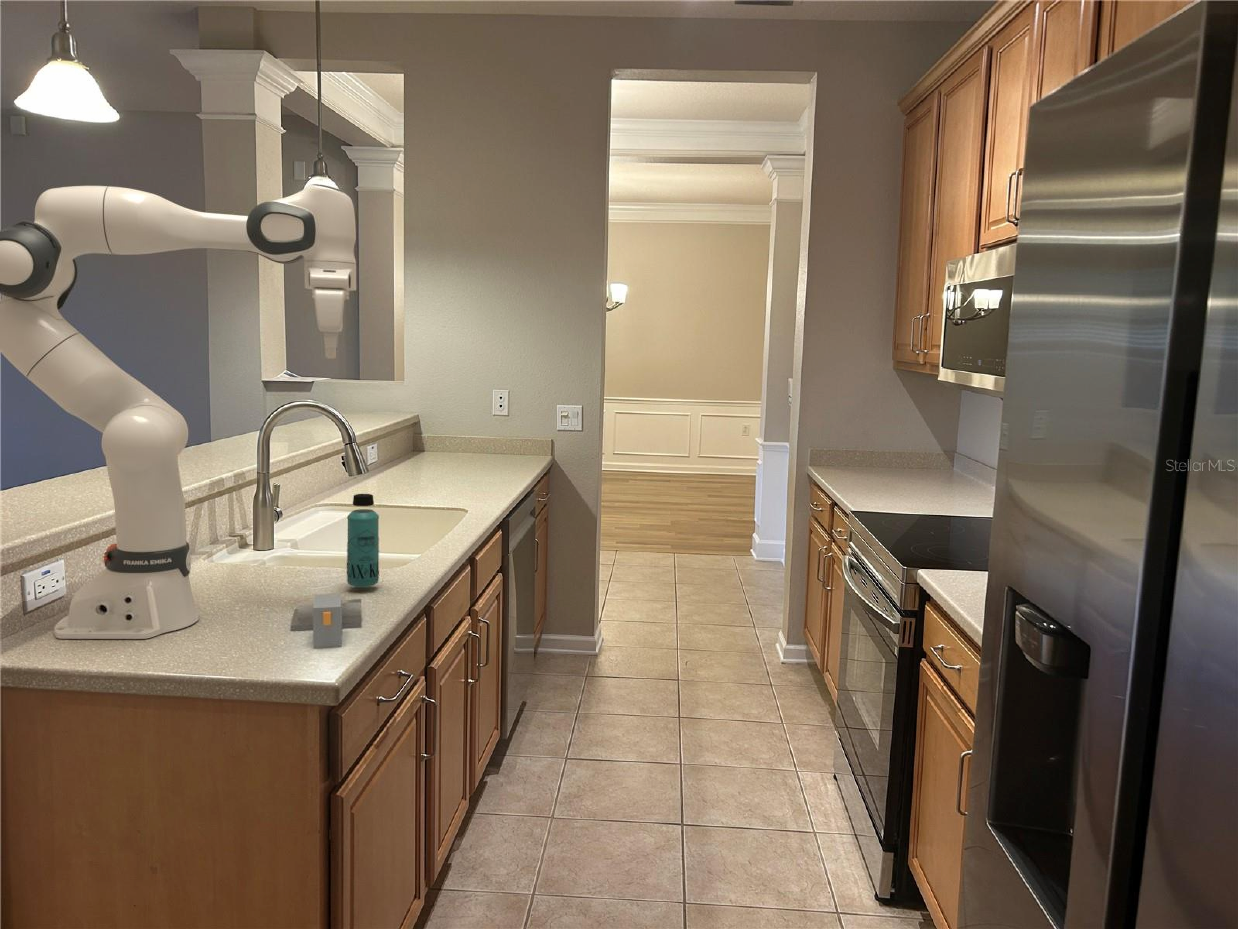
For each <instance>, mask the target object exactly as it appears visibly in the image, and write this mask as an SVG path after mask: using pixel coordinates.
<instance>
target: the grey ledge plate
mask: <svg viewBox="0 0 1238 929" xmlns="http://www.w3.org/2000/svg"><path fill="white" fill-rule="evenodd" d="M313 604H314V600H312V601H311V600H310V601H309V600H308V601H299V602H297V608H295V609H294V610H293V614H292V619H291V621H290V622H291V624H290V632H298V631H313ZM351 628H353V629H356V628H362V598H359V599H358V598H356V599H342V629H351Z"/></svg>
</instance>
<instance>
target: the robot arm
mask: <svg viewBox="0 0 1238 929" xmlns="http://www.w3.org/2000/svg"><path fill="white" fill-rule="evenodd" d="M355 214H356V213H355V206H354V203H353V200H352V199H351V197H350V196H349V195H348V194H347V193H346V192H345V191H343V190H341V189H339V188H336V187H333V186H329V185H324V184H318V183H313V184H312V183H311V184H309V185H307V186H306V187H305V188H303V189H302V190H299V191H298V192H296V193H293V194H292V195H289V196H285V197H282V198H279V199H274V200H269V201H264V202H261V203H259V204H258V205H256V206H255V207H253V209H251V210H250V212H249V214H248V215H238V214H237V215H236V214H226V213H213V212H203V211H198V210H194V209H190V208H187V207H184V206H182V205H179V204H177V203H174V202H173V201H170V200H168V199H166V198H164V197H163V196H160V195H157V194H155V193H151V192H147V191H144V190H139V189H134V188H128V187H121V186H110V185H107V186H106V185H105V186H104V185H74V186H61V187H54V188H49V189H47V190H45V191H44V192H42V193H40V195H39V197H38V199H37V200H36V204H35V207H34V221H30V220H21V221H18V222H16V223H14V224H13V225H11V226H8V227H6V228H3V229H2V230H0V295H1V298H0V353H1V354H2V356H4V358H6V360H8V362H9V363H10V364H12V365H13V367H15V368H16V370H18V372H20V373H21V374H22V375H23V376H24V377H25V378H26V379H28V380H29V381H30V382H31V383H32V384H34V386H36V387H37V388H38V389H40V391H42V392H43V393H45V395H47V396H48V398H50V399H51V400H52V401H54V402H55V403H56V404H57V405H58V406H59V407H60V408H62V409H63V410H64V411H65V412H67V413H68V414H70V415H71V416H75V417H76V418H78V419H80V420H82V421H84V422H85V423H87V424H88V425H89V426H91V427H93V428H94V429H95V430H97V431H99V432H100V433H102V437H101V450H102V453H103V455H104V457H105V464H106V469H107V475H108V479H109V484H110V488H111V492H112V498H113V503H114V518H115V520H114V521H115V538H116V543H113V544H110V545H109V546H108V547H107V548H106V552H104V554H103V555H104V556H102V558H103V559H102V561H103V563H104V567H105V569H103V570H102V571H101V572H99V573H98V574H97V575H95V576H94V577H92V578H91V579H90V580H89V581H87V582H86V583H85V584H84V585H82V586H81V587H80V588H79V589H78V590H76V592H75V593H74V594H73V596H72V598H71V602H70V605H69V608H68V609H69V610H68V615H66V616H64V617H63V618H61V619H60V620H59V621H58V622H57V623H56V624H55V626H54V627H53V628H54V629H53V636H54V637H55V638H57V639H63V640H64V639H66V640H67V639H68V640H69V639H72V640H73V639H79V640H81V639H82V640H87V639H89V640H90V639H91V640H94V639H95V640H96V639H98V640H99V639H101V640H106V639H107V640H114V639H115V640H124V639H125V640H145V639H150V638H154V637H156V636H159V635H161V634H166V633H170V632H173V631H176V630H182V629H184V628H186V627H189V626H192V625H193V624H195V623H197V622H198V621H199V619H200V616H199V613H198V609H197V607H196V604H195V601H194V595H193V592H192V588H191V587H192V586H191V581H190V579H191V578H190V574H191V569H192V566H191V565H192V562H191V560H192V559H191V558H192V557H191V549H190V542H188V541H187V522H186V521H187V520H186V519H187V518H186V513H187V512H186V498H185V496H184V492H183V487H182V481H181V476H180V469H179V455H180V454H181V453H182V451H183V450H184V449H185V448H186V446H187V444H188V440H189V426H188V424H187V422H186V420H185V418H184V416H183V414H181V413H180V412H179V411H178V410H176V409H175V408H174V407H172V405H170V404H169V403H167V401H165V400H164V399H162V397H160V396H159V395H158V394H156V393H155V392H154V391H153V390H151V389H149V388H148V387H147V385H145V384H143V383H141V381H139V380H138V379H136V378H134V377H133V376H132V375H130V374H129V373H128V372H126V371H125V370H123V369H122V368H120V366H119V365H117V364H116V362H115V363H114V362H113V361H112V360H111V359H110V358H109V357H108V356H107V355H106V354H105V353H104V352H103V351H101V350H100V349H99V347H96V346H95V344H93V343H92V341H90V340H88V339H87V337H85V335H83V334H82V333H81V332H80V331H78V329H76V328H75V327H74V326H73V325H71V324H70V323H69V322H68V321H67V320H66V319H65V318H64V317H63V315H62V314H61V313H60V312H59V310H60V309H62V308H63V306H64V304H65V302H66V300H67V299H68V297H69V295H70V293H71V292H72V291H73V289H74V287H75V284H76V283H77V282H78V281H77V280H78V277H79V266H78V263H77V260H76V258H78V257H80V256H82V255H89V254H104V255H105V254H106V255H122V256H125V255H127V256H128V255H131V256H132V255H133V256H135V255H148V254H157V253H164V252H171V251H172V252H173V251H178V250H179V251H180V250H189V249H211V250H223V251H225V250H226V251H227V250H228V251H241V252H248V253H249V252H250V253H254V254H257V255H259V256H261V257H263V258H265V259H267V260H269V261H271V262H275V263H277V264H281V265H288V264H293V263H296V262H298V261H300V260H302V259H303V260H304V261H303V262H304V288H305V289H308V290H311V291H312V292H311V293H312V296H311V298H312V299H313V300H314V306H315V314H316V320H317V322H316V323H317V327H318V330H319V331H320V332H323V340H324V341H323V342H324V349H325V350H324V353H325V354H324V356H325V358H326V359H335V358H336V357H338V344H339V333H340V332H342V331H343V328H344V327H343V326H344V325H343V323H344V322H343V321H344V320H343V317H344V316H343V315H344V306H345V301H346V300H350V292H351V291H353V292H354V291H357V261H356V258H355V253H354V252H355V244H356V241H357V240H356V238H357V236H356V234H357V233H356V232H357V230H356V215H355Z"/></svg>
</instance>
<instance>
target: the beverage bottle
mask: <svg viewBox="0 0 1238 929" xmlns="http://www.w3.org/2000/svg"><path fill="white" fill-rule="evenodd" d="M352 499H353V500H352V505H353V506H356V507H369V506H370V507H371V506H374V505H375V504H374V495H373V494H372V493H356V494H354V495H353V498H352ZM346 518H347V541H346V542H347V543H346V547H347V548H346V581H347V584H348V585H349V586H351V587H360V588H361V587H370V586H374V585H377V584H378V582H379V579H380V561H379V560H380V550H379V549H380V547H379V546H380V544H379V542H380V537H379V529H380V528H379V523H380V520H379V519H380V516H379V514H378V513H377V512H376V511H375V510H373V509H366V508H365V509H364V508H362V509H359V508H358V509H354V510H352V511H351V512H350V513H349V514H348V515H347V517H346Z"/></svg>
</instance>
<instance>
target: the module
mask: <svg viewBox="0 0 1238 929" xmlns="http://www.w3.org/2000/svg"><path fill="white" fill-rule="evenodd" d="M342 600H343V594H342V593H329V594H327V593H326V594H315V595H314V598H313V601H314V604H313V630H312V634H313V636H312V637H313V638H312V639H313V641H312V642H313V649H323V648H324V649H327V648H328V649H329V648H342V644H343V639H342V637H343V628H342Z"/></svg>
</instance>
